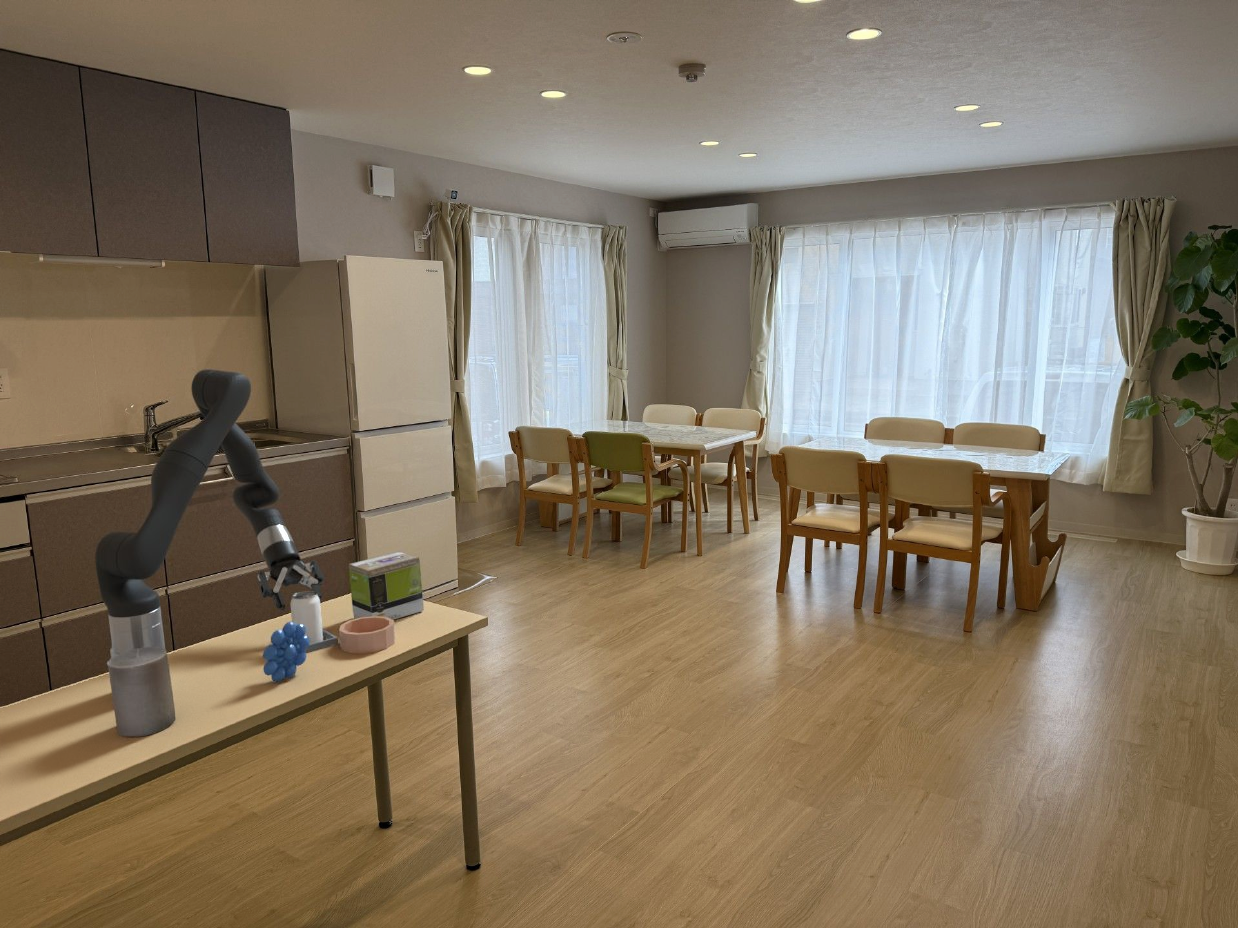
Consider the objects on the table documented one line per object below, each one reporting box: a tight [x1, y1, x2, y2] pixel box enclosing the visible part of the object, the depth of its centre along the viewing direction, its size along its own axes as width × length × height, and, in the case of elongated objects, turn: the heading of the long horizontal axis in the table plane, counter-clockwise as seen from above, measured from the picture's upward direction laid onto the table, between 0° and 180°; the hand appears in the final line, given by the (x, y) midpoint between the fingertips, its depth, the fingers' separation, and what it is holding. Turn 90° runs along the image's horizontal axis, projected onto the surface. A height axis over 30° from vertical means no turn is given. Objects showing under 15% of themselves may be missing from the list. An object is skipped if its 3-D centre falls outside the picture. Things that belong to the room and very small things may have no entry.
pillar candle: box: [106, 647, 176, 738], centre depth 156 cm, size 10×10×15 cm
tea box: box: [348, 551, 425, 621], centre depth 215 cm, size 15×10×15 cm, turn 136°
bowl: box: [339, 616, 396, 655], centre depth 196 cm, size 12×12×4 cm
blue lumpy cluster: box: [262, 620, 310, 683], centre depth 177 cm, size 12×7×12 cm, turn 151°
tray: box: [302, 627, 339, 654], centre depth 197 cm, size 10×10×2 cm
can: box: [290, 590, 324, 644], centre depth 196 cm, size 6×6×12 cm
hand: (301, 604), depth 198 cm, fingers open, 8 cm apart
